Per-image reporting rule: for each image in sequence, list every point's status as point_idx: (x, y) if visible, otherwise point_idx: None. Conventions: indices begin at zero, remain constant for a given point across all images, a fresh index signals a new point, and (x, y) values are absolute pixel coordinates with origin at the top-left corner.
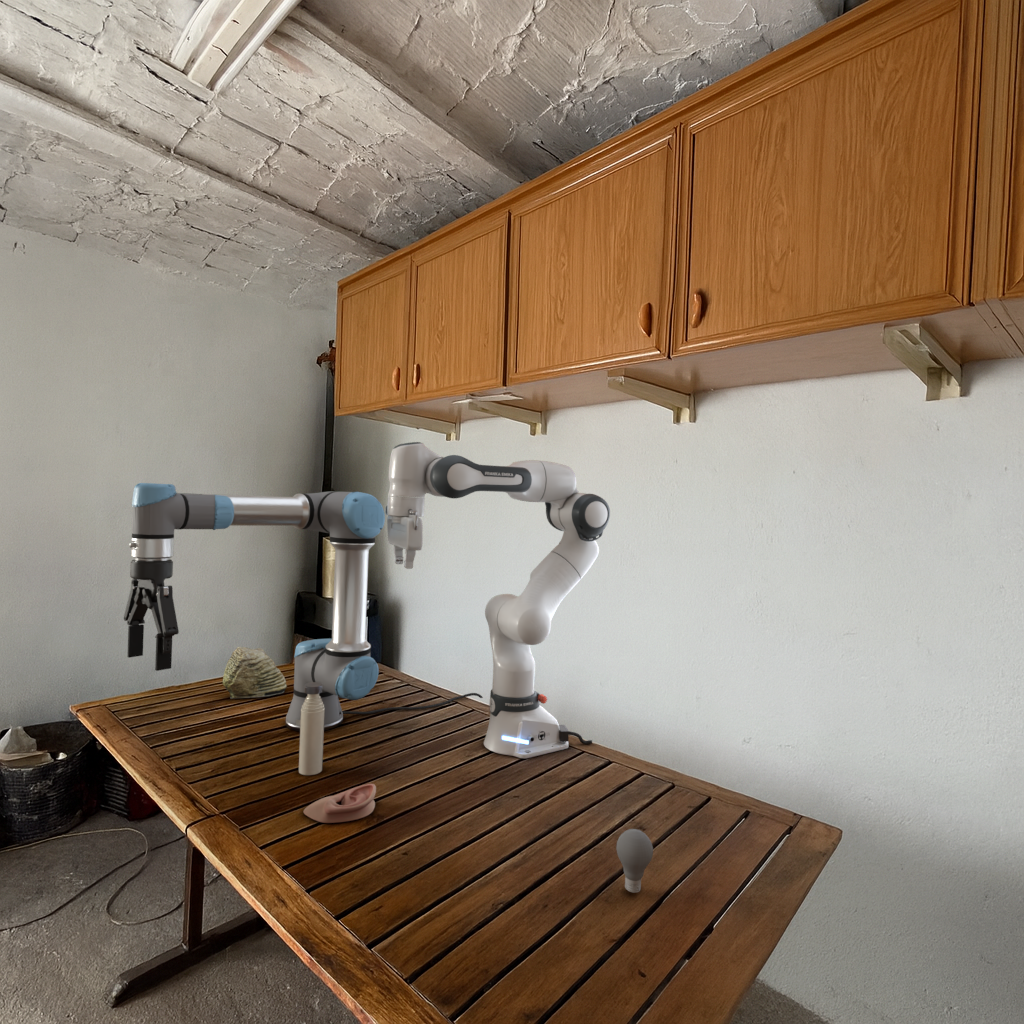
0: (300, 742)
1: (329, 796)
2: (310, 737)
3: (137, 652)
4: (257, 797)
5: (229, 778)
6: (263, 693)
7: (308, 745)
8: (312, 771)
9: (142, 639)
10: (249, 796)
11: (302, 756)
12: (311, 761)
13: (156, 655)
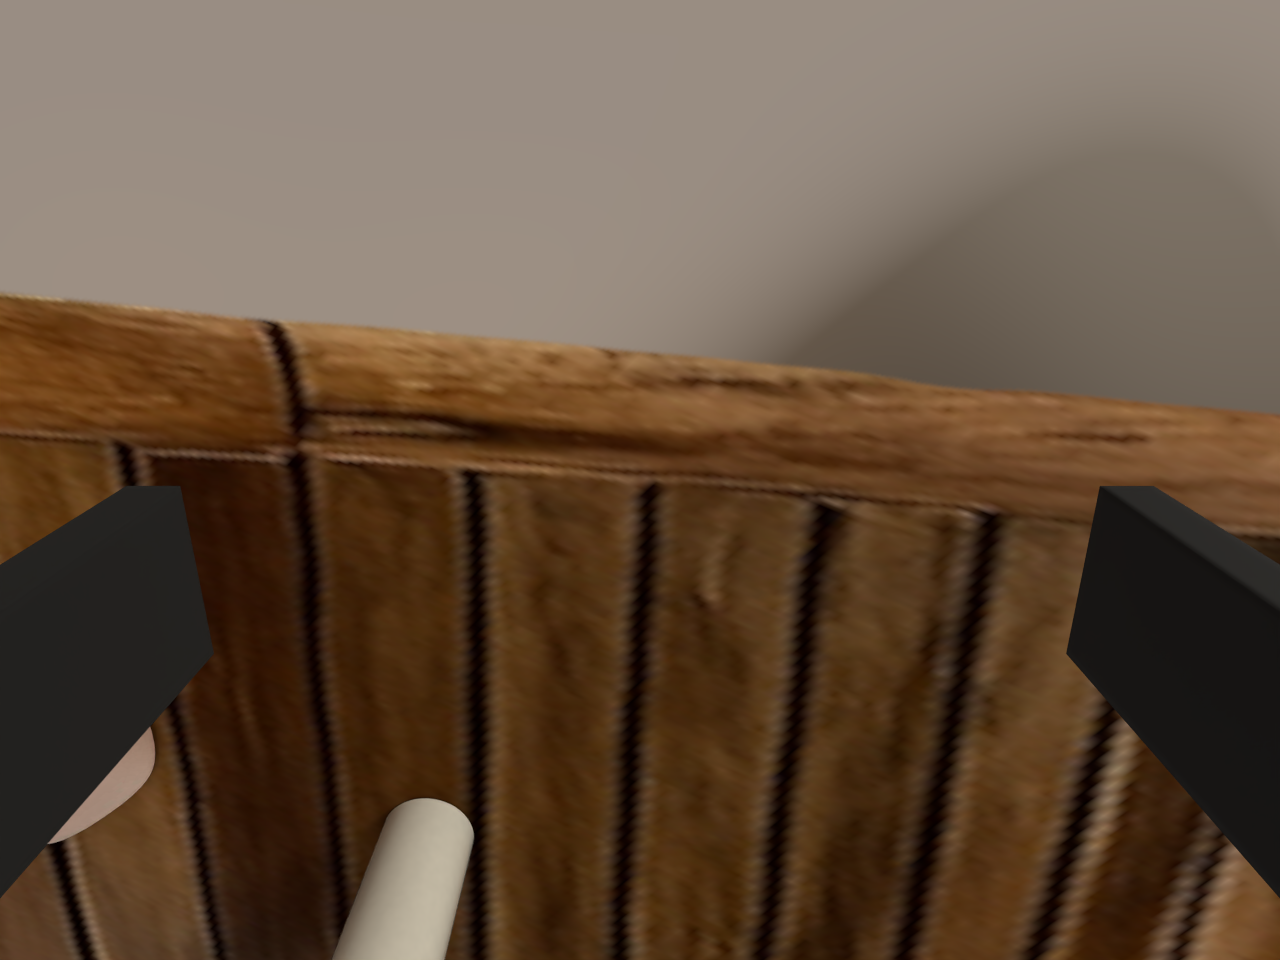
0: (401, 898)
1: (120, 761)
2: (342, 939)
3: (1110, 618)
4: (338, 605)
5: (577, 611)
6: None
7: (359, 904)
8: (382, 829)
9: (1212, 805)
10: (366, 589)
11: (396, 853)
12: (371, 856)
13: (6, 583)
